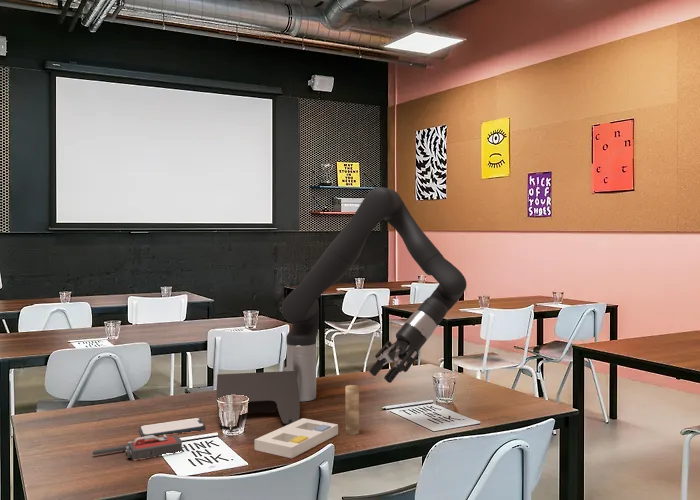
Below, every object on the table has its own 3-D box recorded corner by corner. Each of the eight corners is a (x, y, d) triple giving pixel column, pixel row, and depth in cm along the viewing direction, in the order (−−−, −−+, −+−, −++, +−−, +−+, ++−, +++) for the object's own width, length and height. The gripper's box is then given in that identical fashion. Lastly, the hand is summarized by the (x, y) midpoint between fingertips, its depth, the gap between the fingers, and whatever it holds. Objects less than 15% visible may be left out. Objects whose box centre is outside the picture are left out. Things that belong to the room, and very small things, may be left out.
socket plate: (291, 458, 143) (291, 445, 143) (254, 449, 149) (254, 437, 149) (338, 434, 160) (338, 423, 160) (302, 427, 166) (302, 416, 166)
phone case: (142, 441, 157) (206, 432, 163) (142, 435, 157) (206, 425, 163) (138, 431, 165) (199, 422, 171) (138, 425, 165) (199, 417, 171)
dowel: (343, 433, 161) (342, 387, 160) (350, 429, 164) (349, 384, 163) (354, 435, 159) (354, 388, 159) (361, 431, 162) (361, 386, 162)
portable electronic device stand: (216, 450, 165) (216, 424, 161) (217, 392, 185) (216, 368, 181) (302, 445, 170) (304, 419, 166) (294, 388, 190) (295, 364, 186)
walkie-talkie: (178, 443, 155) (92, 457, 145) (178, 425, 155) (91, 438, 145) (187, 453, 147) (97, 469, 137) (187, 435, 147) (96, 449, 137)
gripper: (394, 318, 174) (358, 363, 170) (422, 325, 161) (383, 373, 157) (411, 336, 177) (375, 380, 172) (439, 344, 164) (401, 392, 159)
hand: (379, 377), depth 164 cm, fingers open, 8 cm apart
